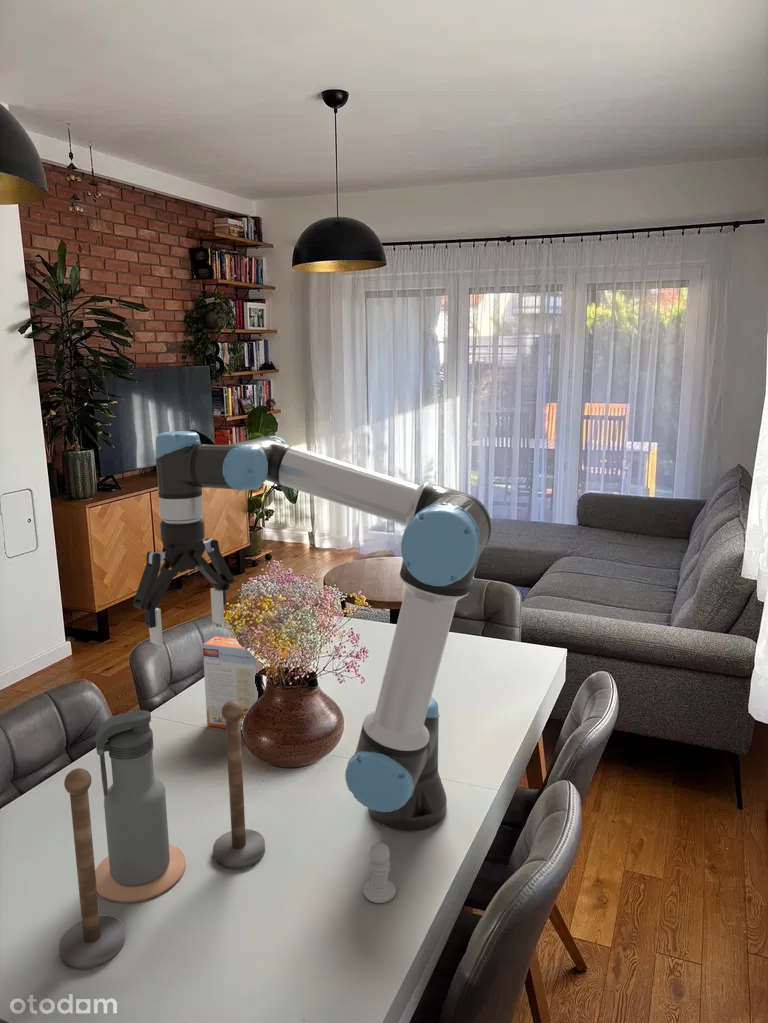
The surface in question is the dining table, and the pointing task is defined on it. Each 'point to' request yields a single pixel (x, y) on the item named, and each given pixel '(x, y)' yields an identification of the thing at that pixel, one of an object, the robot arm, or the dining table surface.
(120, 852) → the water bottle
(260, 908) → the dining table surface
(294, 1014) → the dining table surface
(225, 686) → the cracker box
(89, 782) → the walnut post
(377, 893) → the chess piece
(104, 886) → the glossy peach dome
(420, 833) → the dining table surface
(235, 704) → the walnut post
